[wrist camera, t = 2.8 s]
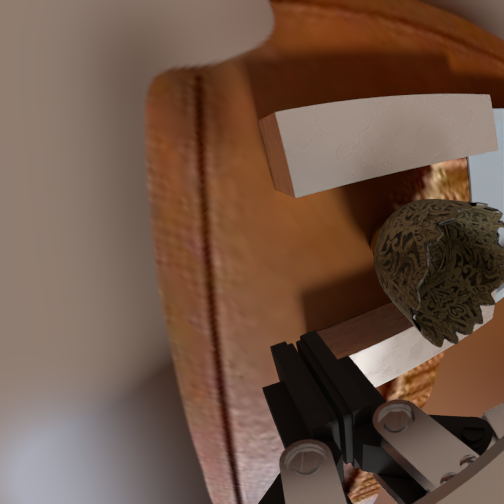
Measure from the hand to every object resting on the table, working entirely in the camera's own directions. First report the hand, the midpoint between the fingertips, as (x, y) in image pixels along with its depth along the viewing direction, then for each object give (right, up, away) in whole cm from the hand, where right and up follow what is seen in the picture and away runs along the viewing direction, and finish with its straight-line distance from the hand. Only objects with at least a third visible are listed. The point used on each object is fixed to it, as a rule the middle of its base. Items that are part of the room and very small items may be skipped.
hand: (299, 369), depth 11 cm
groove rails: (+8, +5, +9) cm, 14 cm away
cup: (+7, +5, +9) cm, 13 cm away
